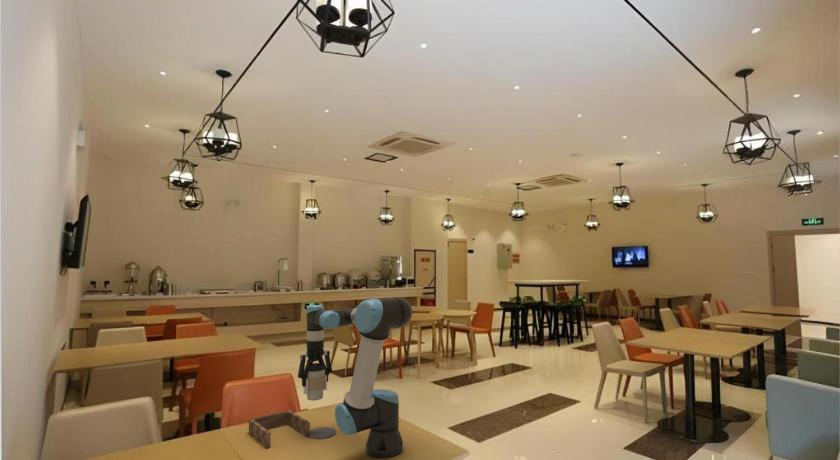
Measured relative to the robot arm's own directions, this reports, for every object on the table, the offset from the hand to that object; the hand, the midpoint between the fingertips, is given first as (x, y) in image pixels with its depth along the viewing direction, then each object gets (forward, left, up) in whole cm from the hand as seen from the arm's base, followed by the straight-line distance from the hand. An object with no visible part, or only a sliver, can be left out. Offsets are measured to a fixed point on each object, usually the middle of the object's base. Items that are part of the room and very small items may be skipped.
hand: (315, 391), depth 190 cm
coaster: (-1, -3, -19) cm, 19 cm away
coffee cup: (0, 0, -3) cm, 3 cm away
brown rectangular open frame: (+11, +12, -19) cm, 25 cm away
